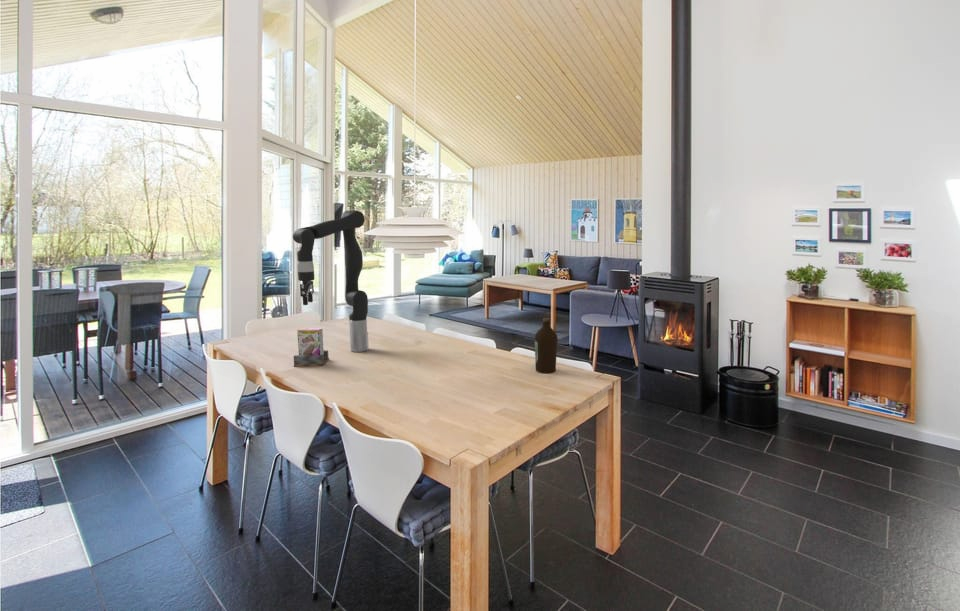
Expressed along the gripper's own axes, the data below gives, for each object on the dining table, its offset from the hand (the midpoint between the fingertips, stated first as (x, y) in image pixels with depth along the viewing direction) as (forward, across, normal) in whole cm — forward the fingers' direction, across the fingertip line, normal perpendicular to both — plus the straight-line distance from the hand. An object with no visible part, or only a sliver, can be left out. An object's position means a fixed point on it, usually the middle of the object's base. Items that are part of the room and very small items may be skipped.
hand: (308, 303), depth 245 cm
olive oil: (+31, -21, -114) cm, 120 cm away
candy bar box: (+29, -1, 0) cm, 29 cm away
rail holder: (+30, -1, 0) cm, 30 cm away
